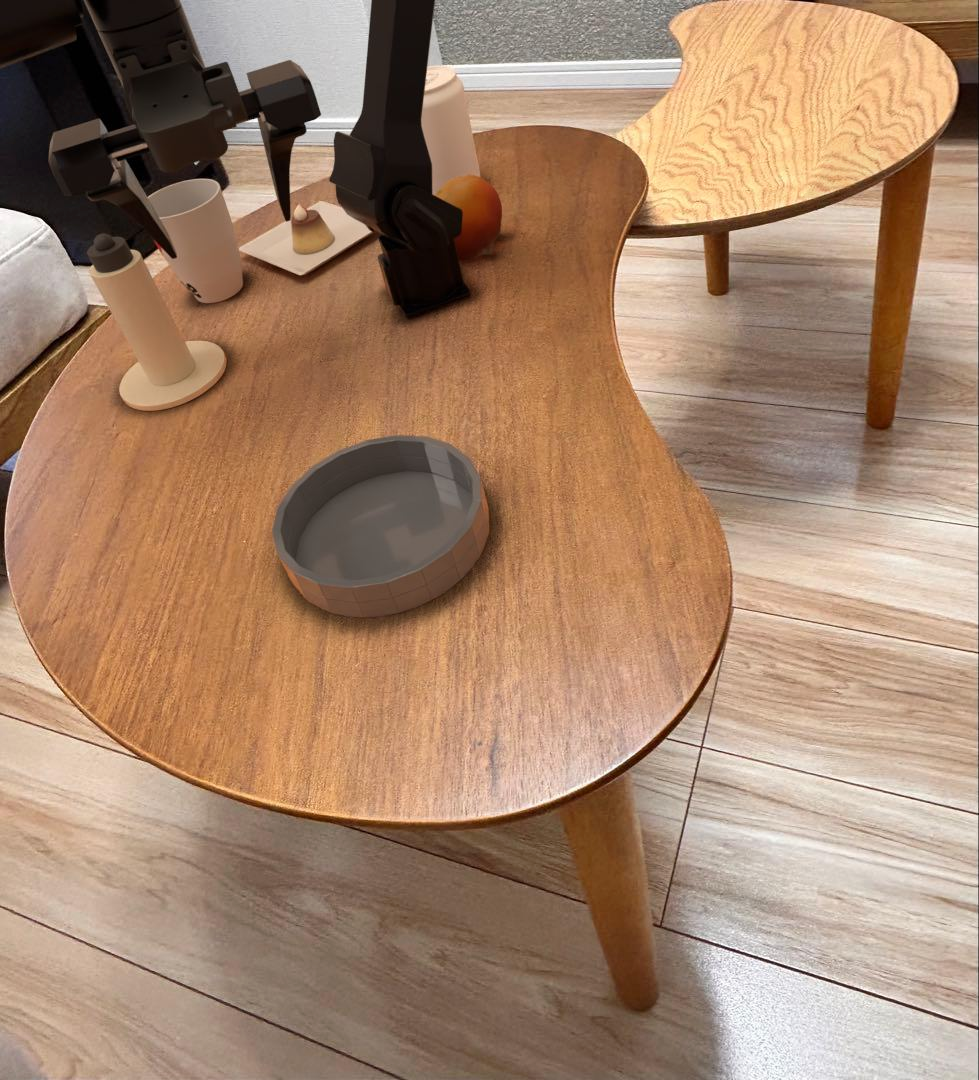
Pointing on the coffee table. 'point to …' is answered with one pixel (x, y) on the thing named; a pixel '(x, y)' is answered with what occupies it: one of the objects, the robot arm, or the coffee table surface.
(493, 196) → the fruit
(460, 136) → the beverage can
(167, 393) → the tile coaster
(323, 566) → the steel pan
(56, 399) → the coffee table surface
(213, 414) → the coffee table surface
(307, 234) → the dessert
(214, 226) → the cup
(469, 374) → the coffee table surface
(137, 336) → the pepper mill
